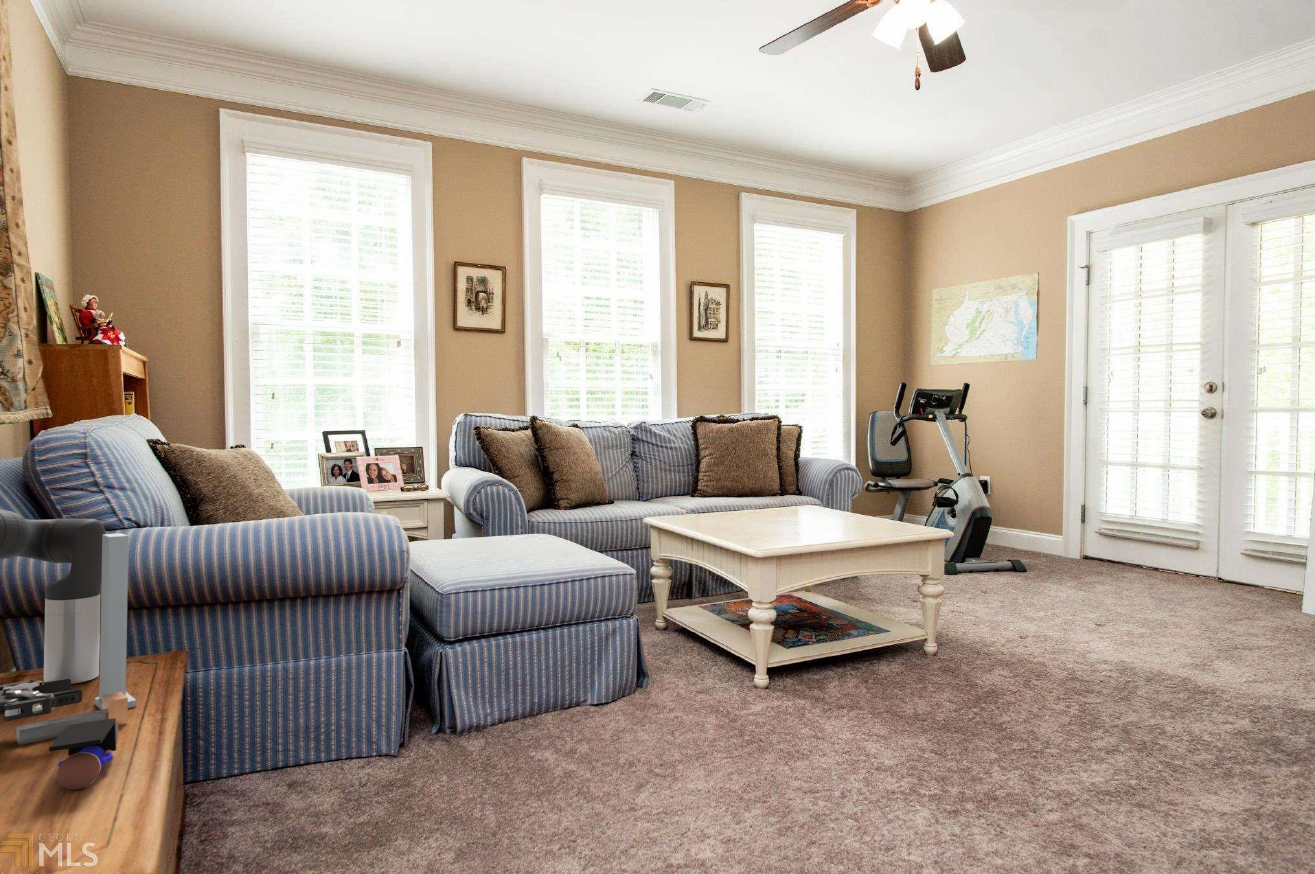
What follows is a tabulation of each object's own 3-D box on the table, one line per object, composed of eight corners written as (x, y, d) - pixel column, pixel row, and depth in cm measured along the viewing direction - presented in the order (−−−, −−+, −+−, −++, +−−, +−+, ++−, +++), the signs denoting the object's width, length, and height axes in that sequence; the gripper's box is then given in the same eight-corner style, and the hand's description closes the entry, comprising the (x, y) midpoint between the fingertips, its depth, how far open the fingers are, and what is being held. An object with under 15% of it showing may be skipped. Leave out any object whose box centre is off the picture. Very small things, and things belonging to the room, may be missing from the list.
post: (94, 704, 148) (97, 534, 148) (125, 697, 152) (128, 532, 152) (104, 713, 143) (107, 537, 144) (136, 706, 147) (139, 535, 147)
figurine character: (68, 769, 123) (44, 798, 109) (70, 718, 123) (47, 741, 110) (120, 762, 126) (103, 789, 112) (122, 712, 127) (105, 733, 113)
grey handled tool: (15, 739, 131) (15, 711, 131) (120, 717, 141) (120, 691, 142) (20, 746, 128) (20, 718, 128) (127, 723, 138) (127, 697, 138)
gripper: (-44, 698, 118) (86, 676, 130) (-56, 678, 128) (67, 659, 140) (-45, 748, 118) (85, 721, 130) (-57, 724, 128) (66, 701, 140)
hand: (76, 689), depth 135 cm, fingers open, 8 cm apart
